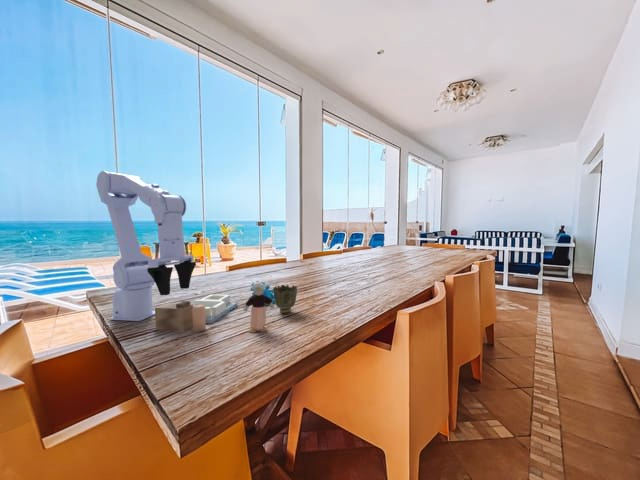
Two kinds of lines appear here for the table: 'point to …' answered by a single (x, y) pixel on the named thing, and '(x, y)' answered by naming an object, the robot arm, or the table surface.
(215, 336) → the table surface
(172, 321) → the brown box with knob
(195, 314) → the tail peg
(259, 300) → the grandmother figurine
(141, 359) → the table surface
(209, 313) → the jig
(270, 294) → the blue white lumpy piece
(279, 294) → the cup
